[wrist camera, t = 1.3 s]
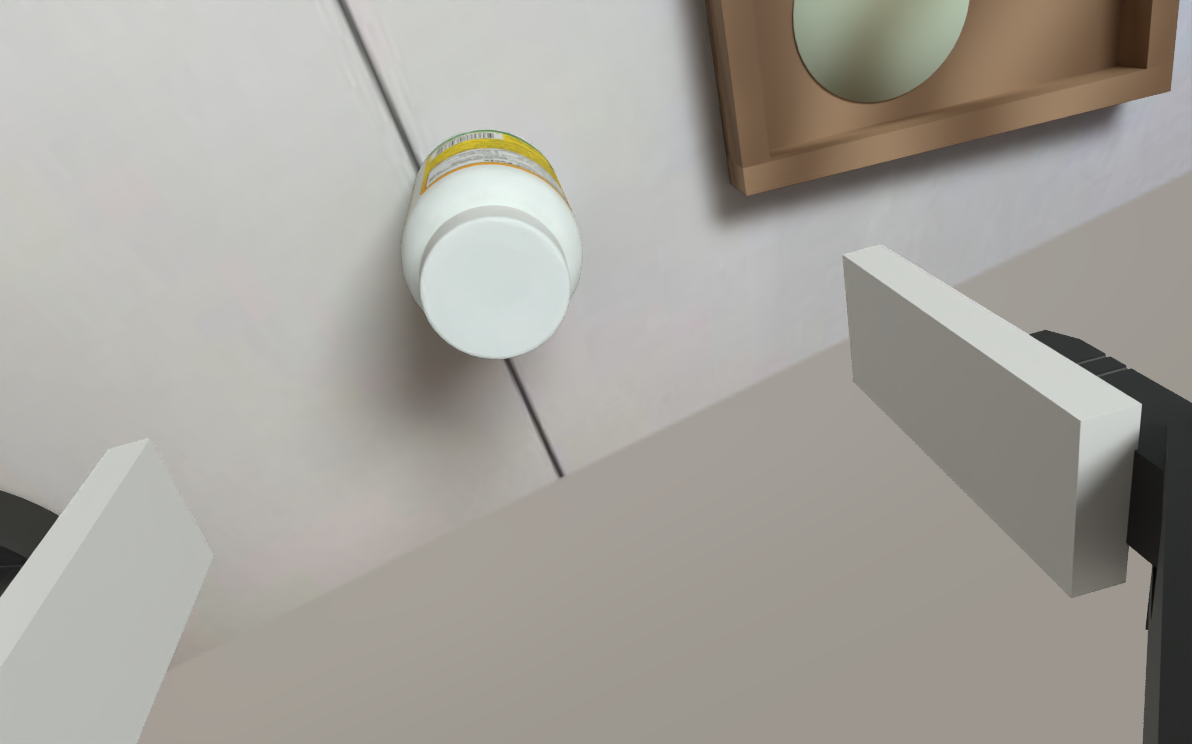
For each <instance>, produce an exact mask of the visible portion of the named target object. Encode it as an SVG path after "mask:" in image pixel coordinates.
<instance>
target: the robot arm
mask: <svg viewBox="0 0 1192 744" xmlns="http://www.w3.org/2000/svg"><path fill="white" fill-rule="evenodd" d="M843 267H844V279H845V290H846V302H847V313H848V325H849V337H850V348H851V360H852V371H853V381H854V383H855V384H856V385H857V386H858V387H859V388H860V389H861V390H862V391H863V392H864V393H865V394H866V395H867V396H868V397H869V398H870V399H871V400H872V401H874V403H876V405H877V406H879V408H880V409H882V411H884V412H885V414H886V415H888V416H889V418H891V419H892V420H893V421H894V422H895V423H896V424H897V425H898V426H899V427H900V428H901V429H902V430H903V431H904V432H905V433H906V434H907V435H908V436H909V437H910V438H911V439H912V440H913V441H914V442H915V443H916V444H917V445H918V446H919V447H920V448H921V449H922V450H923V451H924V452H925V453H926V454H927V455H928V456H929V457H930V458H931V459H932V460H933V461H934V462H935V463H936V464H937V465H938V466H939V467H940V468H941V469H942V470H943V471H944V472H945V473H946V474H947V475H948V476H949V477H950V478H951V479H952V480H953V481H954V482H955V483H956V484H957V485H958V486H959V487H960V488H961V489H962V490H963V491H964V492H965V493H966V494H967V495H968V496H969V497H970V498H971V499H972V500H973V501H974V502H975V503H976V504H977V505H978V506H979V507H980V508H981V509H982V510H983V511H984V512H985V513H986V514H987V515H988V516H989V517H990V518H991V519H992V520H993V521H994V522H995V523H996V524H997V525H998V526H999V527H1000V528H1001V529H1002V530H1003V531H1004V532H1005V533H1006V534H1007V535H1008V536H1009V537H1010V538H1011V539H1012V540H1013V541H1014V542H1016V544H1017V545H1018V546H1020V548H1021V549H1022V550H1023V551H1024V552H1025V553H1026V554H1027V555H1028V556H1029V557H1030V558H1031V559H1032V560H1033V561H1034V562H1035V563H1036V564H1037V565H1038V566H1039V567H1040V568H1041V569H1042V570H1043V571H1044V572H1045V573H1046V574H1047V575H1048V576H1049V577H1051V579H1053V581H1054V582H1056V584H1057V585H1058V586H1060V587H1061V588H1062V590H1063V591H1064V592H1065V593H1067V594H1068V595H1069V596H1070V597H1071V598H1073V597H1076V596H1080V595H1083V594H1087V593H1090V592H1094V591H1097V590H1101V589H1104V588H1108V587H1111V586H1115V585H1118V584H1121V583H1125V582H1126V572H1127V561H1128V550H1129V546H1131V547H1132V548H1133V549H1134V550H1135V551H1137V552H1138V553H1139V554H1140V555H1141V556H1143V557H1144V558H1145V559H1146V560H1147V561H1149V562H1150V563H1151V564H1152V575H1151V583H1150V593H1149V602H1148V612H1147V620H1146V630H1148V645H1147V666H1146V686H1145V708H1144V728H1143V744H1192V403H1191V402H1189V401H1188V400H1186V399H1184V398H1182V397H1181V396H1179V395H1177V394H1175V393H1174V392H1172V391H1170V390H1168V389H1166V388H1165V387H1163V386H1161V385H1159V384H1158V383H1156V382H1154V381H1152V380H1150V379H1149V378H1147V377H1145V376H1144V375H1142V374H1140V373H1138V372H1137V371H1135V370H1133V369H1127V368H1126V365H1124V364H1123V363H1121V362H1119V361H1117V360H1116V359H1114V358H1112V357H1106V355H1105V353H1103V352H1101V351H1100V350H1098V349H1096V348H1094V347H1093V346H1091V345H1089V344H1087V343H1085V342H1084V341H1082V340H1080V339H1077V338H1074V337H1070V336H1066V335H1062V334H1059V333H1055V332H1051V331H1048V330H1043V331H1040V332H1036V333H1032V334H1029V335H1028V334H1027V333H1025V332H1024V331H1022V330H1020V329H1019V328H1017V327H1015V326H1014V325H1012V324H1010V323H1009V322H1007V321H1006V320H1004V319H1002V318H1001V317H999V316H997V315H996V314H994V313H992V312H991V311H989V310H988V309H986V308H984V307H982V306H981V305H979V304H978V303H976V302H974V301H973V300H971V299H970V298H968V297H966V296H965V295H963V294H961V293H960V292H958V291H956V290H955V289H953V288H952V287H950V286H948V285H947V284H945V283H943V282H942V281H940V280H939V279H937V278H935V277H934V276H932V275H930V274H929V273H927V272H926V271H924V270H922V269H921V268H919V267H917V266H916V265H914V264H912V263H911V262H909V261H908V260H906V259H904V258H903V257H901V256H899V255H898V254H896V253H894V252H893V251H891V250H890V249H888V248H886V247H885V246H883V245H881V244H880V245H877V246H873V247H869V248H865V249H861V250H858V251H854V252H850V253H846V254H843ZM213 557H214V555H213V553H212V552H211V550H210V548H209V546H208V544H207V542H206V540H205V538H204V537H203V535H202V533H201V531H200V529H199V527H198V525H197V524H196V522H195V520H194V518H193V516H192V514H191V512H190V510H189V509H188V507H187V505H186V503H185V501H184V499H183V497H182V496H181V494H180V492H179V490H178V488H177V486H176V484H175V482H174V481H173V479H172V477H171V475H170V473H169V471H168V469H167V468H166V466H165V464H164V462H163V460H162V458H161V456H160V454H159V453H158V451H157V449H156V447H155V445H154V443H153V441H152V440H151V438H148V439H144V440H140V441H136V442H133V443H129V444H125V445H121V446H118V447H114V448H110V449H108V450H107V452H106V453H105V454H104V456H103V457H102V458H101V460H100V461H99V463H98V464H97V465H96V467H95V468H94V469H93V471H92V472H91V474H90V475H89V476H88V478H87V479H86V480H85V482H84V483H83V485H82V486H81V487H80V489H79V490H78V491H77V493H76V494H75V495H74V497H73V498H72V500H71V501H70V502H69V504H68V505H67V506H66V508H65V509H64V511H63V512H62V513H61V515H60V516H58V515H56V514H55V513H53V512H51V511H49V510H47V509H45V508H43V507H41V506H39V505H37V504H35V503H32V502H30V501H28V500H25V499H23V498H20V497H18V496H15V495H12V494H10V493H7V492H4V491H0V744H137V742H138V740H139V738H140V735H141V733H142V730H143V728H144V725H145V723H146V720H147V718H148V716H149V713H150V711H151V708H152V706H153V703H154V701H155V698H156V696H157V694H158V691H159V689H160V686H161V684H162V681H163V679H164V676H165V674H166V672H167V669H168V667H169V664H170V662H171V659H172V657H173V654H174V652H175V650H176V647H177V645H178V642H179V640H180V637H181V635H182V633H183V630H184V628H185V625H186V623H187V620H188V618H189V615H190V613H191V611H192V608H193V606H194V603H195V601H196V598H197V596H198V593H199V591H200V589H201V586H202V584H203V581H204V579H205V576H206V574H207V571H208V569H209V567H210V564H211V562H212V559H213Z"/></svg>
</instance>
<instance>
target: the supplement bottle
mask: <svg viewBox="0 0 1192 744" xmlns="http://www.w3.org/2000/svg"><path fill="white" fill-rule="evenodd" d="M582 261H583V250H582V240H581V235H580V232H579V228H578V225H577V222H576V219H575V217H574V215H573V213H572V210H571V208H570V206H569V204H568V201H567V199H566V197H565V195H564V192H563V190H562V188H561V185H560V183H559V181H558V179H557V176H556V174H555V172H554V170H553V168H552V167H551V165H550V163H549V162H548V160H547V159H546V157H545V156H544V155H543V154H542V153H541V151H540V150H538V149H537V148H536V147H535V146H534V145H533V144H531V143H530V142H528V141H527V140H525V139H524V138H522V137H520V136H518V135H515V134H513V133H510V132H507V131H503V130H498V129H490V128H480V129H473V130H468V131H464V132H461V133H458V134H456V135H454V136H452V137H450V138H448V139H446V140H445V141H443V142H442V143H441V144H439V145H438V146H437V147H436V148H435V149H434V150H433V151H432V152H431V153H430V154H429V155H428V157H427V158H426V160H425V161H424V163H423V164H422V166H421V168H420V170H419V172H418V175H417V178H416V181H415V184H414V189H413V193H412V197H411V201H410V206H409V210H408V214H407V218H406V222H405V225H404V230H403V234H402V240H401V263H402V270H403V274H404V278H405V281H406V283H407V286H408V289H409V291H410V293H411V294H412V296H413V298H414V300H415V301H416V303H417V304H418V306H419V307H420V308H421V309H422V310H423V312H424V313H425V315H426V317H427V320H428V321H429V323H430V325H431V326H432V328H433V329H434V330H435V331H436V333H437V334H438V335H439V336H440V337H441V338H442V339H443V340H445V341H446V342H447V343H448V344H450V345H451V346H453V347H454V348H456V349H457V350H459V351H462V352H464V353H466V354H469V355H472V356H475V357H479V358H487V359H506V358H512V357H516V356H520V355H522V354H525V353H527V352H529V351H532V350H534V349H535V348H537V347H538V346H540V345H541V344H543V343H544V342H545V341H546V340H547V339H549V338H550V337H551V336H552V335H553V333H554V332H555V331H556V330H557V328H558V327H559V325H560V324H561V322H562V320H563V318H564V316H565V314H566V311H567V309H568V305H569V301H570V299H571V298H572V296H573V294H574V292H575V290H576V287H577V285H578V282H579V279H580V275H581V270H582Z"/></svg>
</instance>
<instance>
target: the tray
mask: <svg viewBox="0 0 1192 744" xmlns="http://www.w3.org/2000/svg"><path fill="white" fill-rule="evenodd" d="M705 2H706V9H707V17H708V24H709V31H710V39H711V46H712V53H713V61H714V68H715V75H716V83H717V90H718V97H719V104H720V112H721V119H722V126H723V134H724V141H725V148H726V156H727V163H728V170H729V177H730V184H731V185H733V186H734V187H735V188H737V189H738V190H739V191H740V192H742V193H743V194H744V195H746V196H749V195H753V194H757V193H761V192H765V191H769V190H773V189H777V188H781V187H785V186H789V185H793V184H797V183H801V182H805V181H809V180H813V179H817V178H822V177H826V176H830V175H834V174H838V173H842V172H846V171H850V170H854V169H858V168H862V167H866V166H870V165H874V164H878V163H882V162H886V161H890V160H894V159H898V158H902V157H906V156H910V155H914V154H918V153H922V152H926V151H931V150H935V149H939V148H943V147H947V146H951V145H955V144H959V143H963V142H967V141H971V140H975V139H979V138H983V137H987V136H991V135H995V134H999V133H1003V132H1007V131H1011V130H1015V129H1019V128H1023V127H1027V126H1031V125H1035V124H1040V123H1044V122H1048V121H1052V120H1056V119H1060V118H1064V117H1068V116H1072V115H1076V114H1080V113H1084V112H1088V111H1092V110H1096V109H1100V108H1104V107H1108V106H1112V105H1116V104H1120V103H1124V102H1128V101H1132V100H1136V99H1140V98H1144V97H1149V96H1153V95H1157V94H1161V93H1165V92H1169V91H1171V80H1172V70H1173V60H1174V50H1175V40H1176V29H1177V19H1178V9H1179V0H705Z"/></svg>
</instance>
